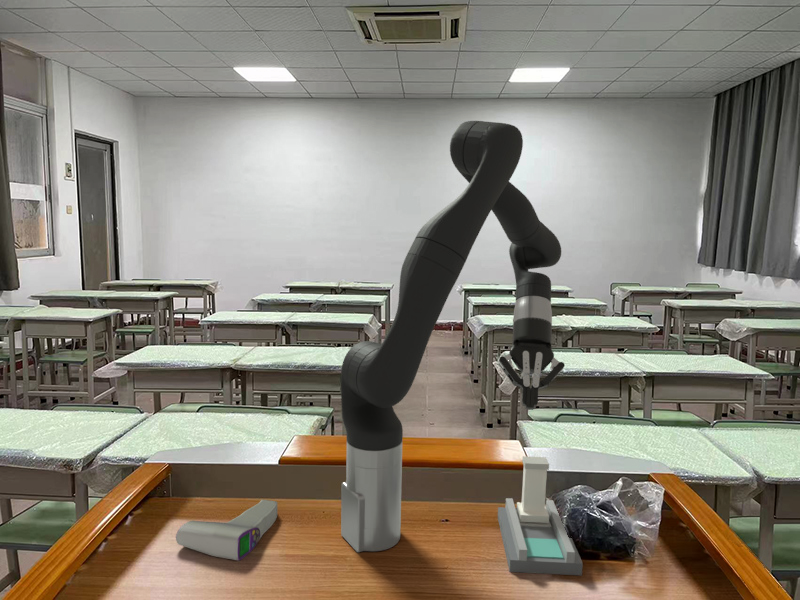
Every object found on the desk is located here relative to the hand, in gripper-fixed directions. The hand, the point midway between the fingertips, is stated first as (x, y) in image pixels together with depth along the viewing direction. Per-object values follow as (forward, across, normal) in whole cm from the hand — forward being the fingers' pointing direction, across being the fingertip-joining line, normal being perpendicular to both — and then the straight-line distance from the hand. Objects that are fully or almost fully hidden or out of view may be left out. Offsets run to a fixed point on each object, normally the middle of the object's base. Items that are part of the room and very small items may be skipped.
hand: (529, 408), depth 108 cm
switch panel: (+24, +2, -2) cm, 24 cm away
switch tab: (+19, +1, 0) cm, 19 cm away
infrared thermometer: (+28, -50, -5) cm, 57 cm away
